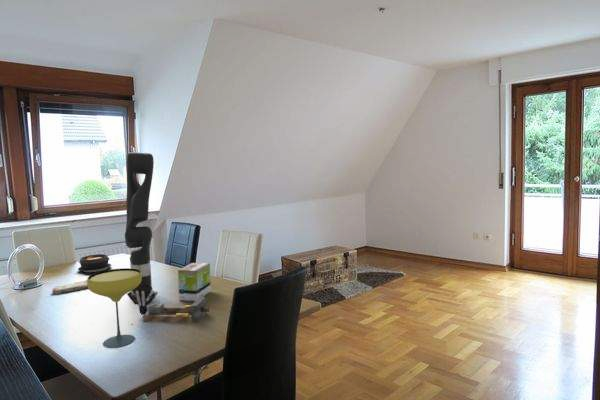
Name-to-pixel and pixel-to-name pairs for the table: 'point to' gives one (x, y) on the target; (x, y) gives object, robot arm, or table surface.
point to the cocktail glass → (115, 295)
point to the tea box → (194, 281)
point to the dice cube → (156, 309)
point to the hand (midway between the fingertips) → (143, 313)
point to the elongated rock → (70, 287)
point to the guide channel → (181, 313)
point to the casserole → (94, 263)
